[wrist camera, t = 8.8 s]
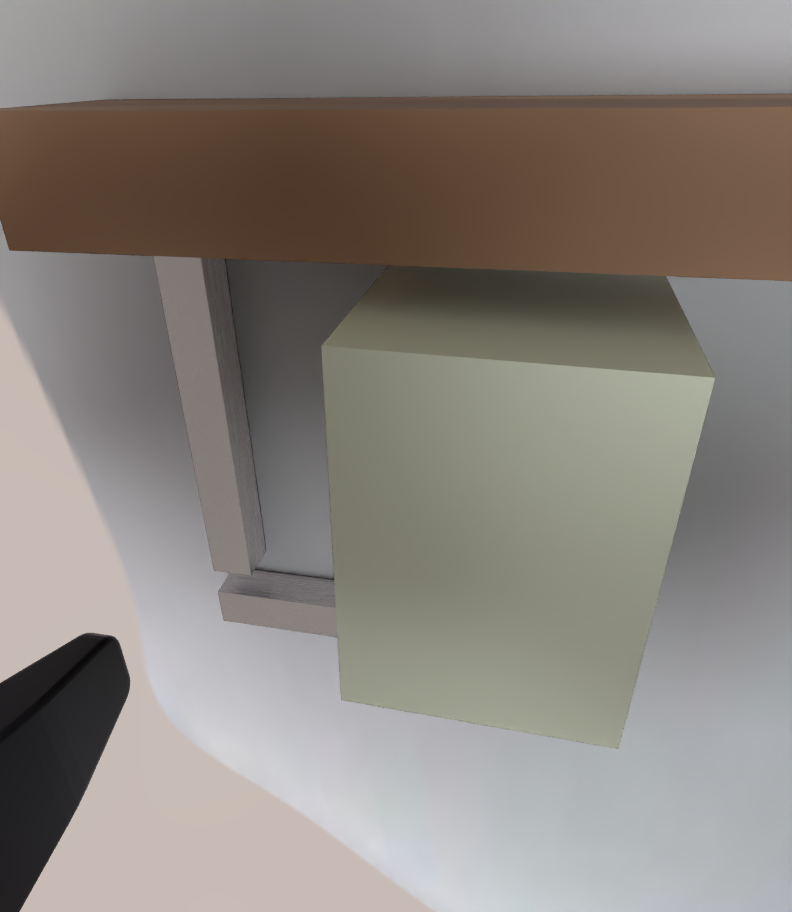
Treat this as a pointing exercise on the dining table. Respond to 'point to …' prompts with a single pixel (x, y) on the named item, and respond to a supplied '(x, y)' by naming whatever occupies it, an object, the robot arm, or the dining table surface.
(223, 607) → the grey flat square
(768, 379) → the dining table surface
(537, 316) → the pale green block
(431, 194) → the long brown board
